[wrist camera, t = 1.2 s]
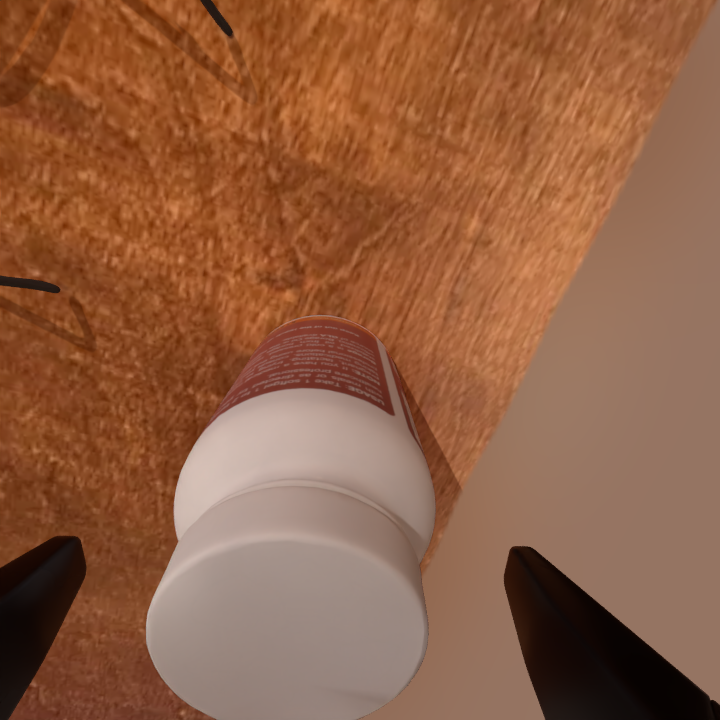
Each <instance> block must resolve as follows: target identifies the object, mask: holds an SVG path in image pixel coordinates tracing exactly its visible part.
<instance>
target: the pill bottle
mask: <svg viewBox="0 0 720 720" xmlns="http://www.w3.org/2000/svg"><path fill="white" fill-rule="evenodd" d="M435 514H436V503H435V493H434V487H433V483H432V479H431V475H430V471H429V467H428V464H427V461H426V458H425V455H424V452H423V449H422V446H421V443H420V440H419V437H418V433H417V431H416V428H415V424H414V421H413V418H412V415H411V411H410V409H409V406H408V403H407V400H406V396H405V393H404V390H403V387H402V385H401V381H400V378H399V376H398V373H397V370H396V367H395V364H394V362H393V360H392V357H391V356H390V354H389V352H388V350H387V349H386V347H385V346H384V345H383V344H382V342H381V341H380V340H379V339H378V338H377V337H376V336H375V335H374V334H373V333H371V332H370V331H369V330H367V329H366V328H364V327H363V326H361V325H359V324H357V323H355V322H352V321H350V320H347V319H344V318H340V317H336V316H330V315H312V316H305V317H301V318H297V319H294V320H292V321H289V322H287V323H285V324H283V325H281V326H280V327H278V328H277V329H275V330H274V331H273V332H271V333H270V334H269V335H268V336H267V337H266V338H265V339H264V340H263V341H262V343H261V344H260V345H259V346H258V347H257V349H256V350H255V352H254V353H253V355H252V356H251V358H250V359H249V361H248V363H247V364H246V365H245V367H244V369H243V370H242V372H241V373H240V375H239V376H238V378H237V379H236V381H235V383H234V384H233V386H232V387H231V389H230V390H229V392H228V393H227V395H226V396H225V398H224V399H223V401H222V402H221V404H220V406H219V407H218V409H217V410H216V412H215V413H214V415H213V416H212V418H211V419H210V421H209V422H208V424H207V425H206V427H205V428H204V430H203V432H202V433H201V435H200V436H199V438H198V440H197V442H196V443H195V445H194V446H193V449H192V450H191V452H190V454H189V456H188V458H187V460H186V462H185V464H184V466H183V468H182V470H181V473H180V476H179V480H178V484H177V488H176V492H175V499H174V521H175V529H176V534H177V538H178V541H179V542H178V544H177V546H176V548H175V550H174V553H173V555H172V557H171V560H170V562H169V564H168V567H167V569H166V571H165V573H164V575H163V577H162V580H161V582H160V584H159V586H158V588H157V590H156V592H155V595H154V597H153V599H152V602H151V605H150V607H149V610H148V615H147V622H146V643H147V647H148V650H149V653H150V656H151V659H152V661H153V663H154V666H155V668H156V669H157V671H158V672H159V674H160V676H161V678H162V679H163V680H164V681H165V683H166V684H167V685H168V686H169V687H170V688H171V689H172V691H173V692H174V693H175V694H176V695H178V696H179V697H180V698H181V699H182V700H184V701H185V702H186V703H188V704H189V705H190V706H192V707H194V708H195V709H197V710H199V711H201V712H203V713H205V714H206V715H209V716H211V717H213V718H215V719H217V720H358V719H360V718H363V717H365V716H367V715H368V714H370V713H372V712H374V711H376V710H378V709H380V708H381V707H383V706H384V705H386V704H387V703H389V702H390V701H391V700H392V699H394V698H395V697H396V696H398V695H399V694H400V693H401V692H402V691H403V690H404V689H405V688H406V686H408V684H409V683H410V681H411V680H412V679H413V677H414V676H415V674H416V673H417V671H418V670H419V668H420V666H421V664H422V662H423V659H424V656H425V652H426V649H427V643H428V635H429V633H428V619H427V611H426V605H425V599H424V593H423V587H422V579H421V570H420V563H421V561H422V559H423V557H424V555H425V553H426V551H427V548H428V546H429V543H430V541H431V538H432V534H433V530H434V524H435Z"/></svg>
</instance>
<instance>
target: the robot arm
mask: <svg viewBox="0 0 720 720" xmlns="http://www.w3.org/2000/svg"><path fill="white" fill-rule="evenodd" d="M85 575H86V562H85V557H84V553H83V548H82V544H81V540H80V539H79V538H78V537H76V536H56V537H53V538H51V539H49V540H48V541H46V542H44V543H43V544H41V545H39V546H37V547H36V548H34V549H32V550H30V551H29V552H27V553H25V554H24V555H22V556H20V557H18V558H17V559H15V560H13V561H11V562H10V563H8V564H6V565H4V566H3V567H1V568H0V720H8V719H9V717H10V716H11V714H12V713H13V711H14V709H15V708H16V706H17V704H18V703H19V701H20V699H21V698H22V696H23V694H24V693H25V691H26V689H27V688H28V686H29V684H30V683H31V681H32V679H33V678H34V676H35V674H36V673H37V671H38V669H39V667H40V666H41V664H42V662H43V661H44V659H45V657H46V655H47V653H48V651H49V649H50V647H51V645H52V643H53V641H54V639H55V637H56V635H57V633H58V631H59V629H60V627H61V625H62V623H63V621H64V619H65V617H66V615H67V613H68V611H69V609H70V607H71V605H72V603H73V601H74V599H75V597H76V595H77V593H78V591H79V589H80V587H81V585H82V582H83V580H84V578H85ZM504 586H505V590H506V594H507V597H508V601H509V605H510V609H511V612H512V616H513V620H514V624H515V627H516V631H517V635H518V639H519V642H520V646H521V650H522V654H523V657H524V660H525V664H526V667H527V670H528V673H529V676H530V679H531V681H532V684H533V687H534V690H535V692H536V695H537V698H538V701H539V704H540V706H541V709H542V711H543V714H544V717H545V720H720V705H719V704H718V703H717V702H716V701H714V700H710V698H709V696H708V695H707V694H706V693H705V692H704V691H703V690H701V689H700V688H699V687H698V686H696V685H695V684H694V683H693V682H692V681H691V680H689V679H688V678H687V677H686V676H685V675H683V674H682V673H681V672H680V671H679V670H678V669H676V668H675V667H674V666H673V665H672V664H670V663H669V662H668V661H667V660H666V659H664V658H663V657H662V656H661V655H660V654H658V653H657V652H656V651H655V650H654V649H652V648H651V647H650V646H649V645H648V644H646V643H645V642H644V641H643V640H642V639H641V638H639V637H638V636H637V635H636V634H635V633H633V632H632V631H631V630H630V629H629V628H627V627H626V626H625V625H624V624H623V623H622V622H620V621H619V620H618V619H617V618H615V617H614V616H613V615H612V614H611V613H610V612H608V611H607V610H606V609H605V608H604V607H602V606H601V605H600V604H599V603H598V602H596V601H595V600H594V599H593V598H592V597H590V596H589V595H588V594H587V593H586V592H585V591H583V590H582V589H581V588H580V587H579V586H577V585H576V584H575V583H574V582H573V581H571V580H570V579H569V578H568V577H566V575H564V574H563V573H562V572H561V571H560V570H558V569H557V568H556V567H555V566H554V565H552V564H551V563H550V562H549V561H548V560H546V559H545V558H544V557H543V556H542V555H540V554H539V553H538V552H537V551H536V550H534V549H533V548H531V547H525V546H522V547H521V546H514V547H512V548H511V549H510V551H509V556H508V560H507V564H506V568H505V573H504Z"/></svg>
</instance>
